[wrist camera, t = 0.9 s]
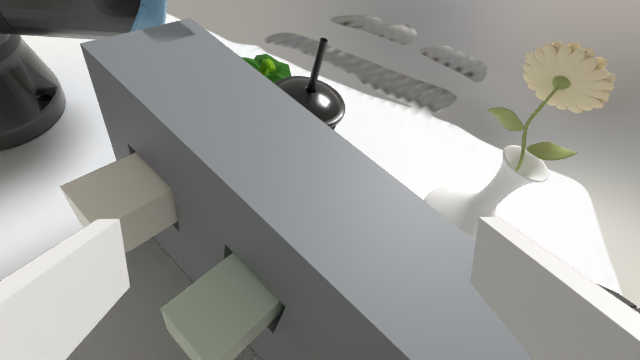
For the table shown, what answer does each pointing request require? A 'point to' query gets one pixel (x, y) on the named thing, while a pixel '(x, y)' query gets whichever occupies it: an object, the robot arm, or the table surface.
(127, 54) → the keypad panel
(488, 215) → the flower in vase
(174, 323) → the sage key
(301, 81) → the drinking cup
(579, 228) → the table surface
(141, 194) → the cream key
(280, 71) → the bell pepper
